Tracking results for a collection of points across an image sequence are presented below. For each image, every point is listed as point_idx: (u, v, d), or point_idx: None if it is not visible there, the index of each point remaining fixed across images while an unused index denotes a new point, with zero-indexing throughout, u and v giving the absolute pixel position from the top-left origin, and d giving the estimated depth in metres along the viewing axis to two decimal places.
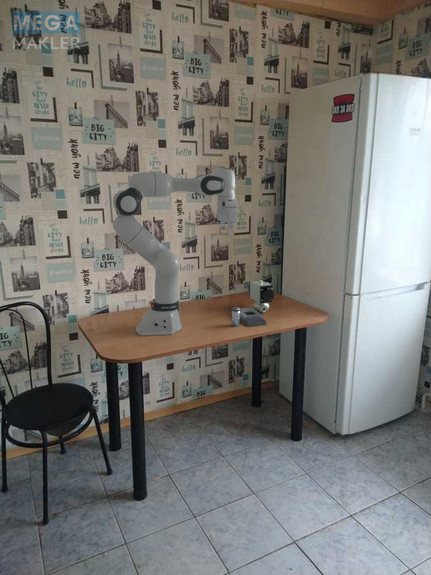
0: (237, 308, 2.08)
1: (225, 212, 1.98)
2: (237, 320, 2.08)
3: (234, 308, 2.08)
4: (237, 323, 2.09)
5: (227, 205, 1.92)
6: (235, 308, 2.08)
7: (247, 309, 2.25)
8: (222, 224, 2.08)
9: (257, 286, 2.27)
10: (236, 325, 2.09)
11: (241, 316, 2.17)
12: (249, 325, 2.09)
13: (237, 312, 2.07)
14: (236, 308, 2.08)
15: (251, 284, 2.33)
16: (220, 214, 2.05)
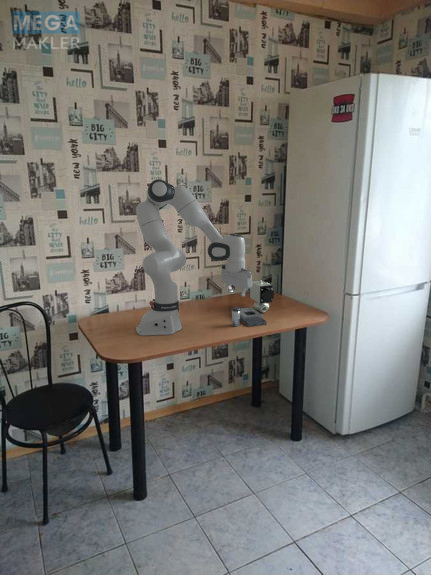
0: (237, 308, 2.08)
1: None
2: (237, 320, 2.08)
3: (234, 308, 2.08)
4: (237, 323, 2.09)
5: None
6: (235, 308, 2.08)
7: (247, 309, 2.25)
8: None
9: (257, 286, 2.27)
10: (236, 325, 2.09)
11: (241, 316, 2.17)
12: (249, 325, 2.09)
13: (237, 312, 2.07)
14: (236, 308, 2.08)
15: None
16: None
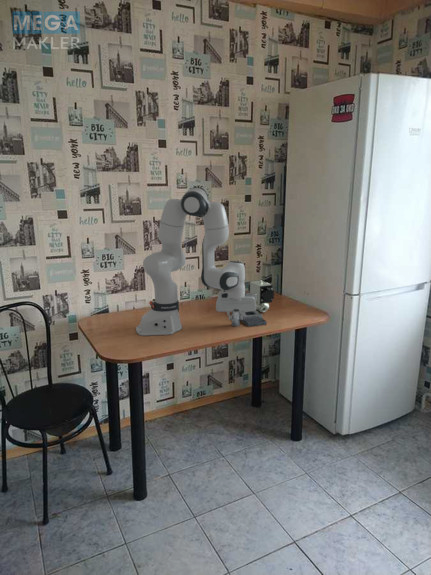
0: None
1: None
2: (237, 320, 2.08)
3: None
4: (237, 323, 2.09)
5: None
6: None
7: None
8: None
9: (257, 286, 2.27)
10: (236, 325, 2.09)
11: None
12: (249, 325, 2.09)
13: (237, 312, 2.07)
14: None
15: (251, 284, 2.33)
16: None
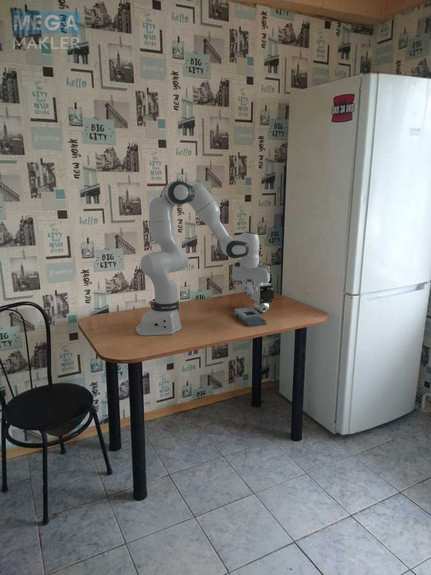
0: None
1: None
2: (250, 290, 2.13)
3: None
4: (250, 293, 2.14)
5: None
6: None
7: (247, 309, 2.25)
8: None
9: None
10: (249, 295, 2.14)
11: (241, 316, 2.17)
12: (249, 325, 2.09)
13: (250, 282, 2.12)
14: None
15: None
16: None
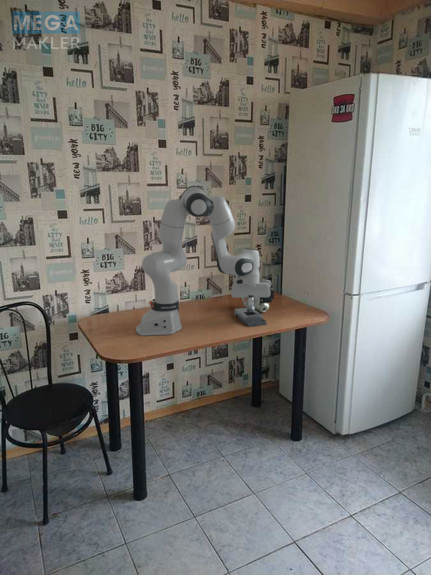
0: None
1: None
2: (252, 306, 2.15)
3: None
4: (252, 309, 2.15)
5: None
6: None
7: None
8: (257, 299, 2.16)
9: None
10: (251, 311, 2.15)
11: (241, 316, 2.17)
12: (249, 325, 2.09)
13: (252, 298, 2.14)
14: None
15: None
16: None
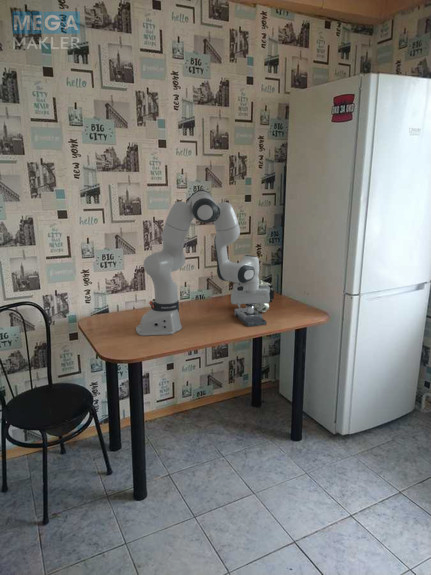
0: None
1: None
2: None
3: None
4: None
5: (233, 287, 2.16)
6: None
7: None
8: (260, 305, 2.18)
9: None
10: None
11: (241, 316, 2.17)
12: (249, 325, 2.09)
13: (252, 307, 2.15)
14: None
15: None
16: None
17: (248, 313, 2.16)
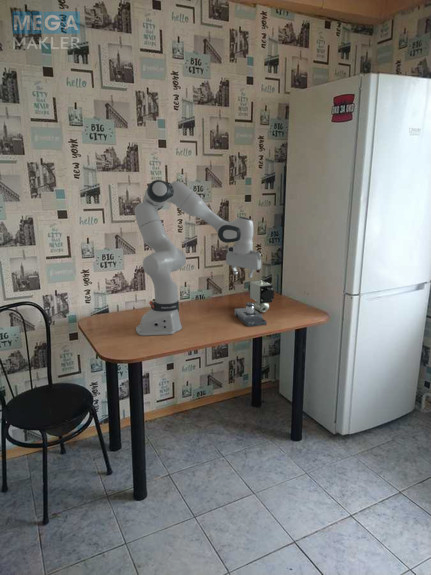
0: (251, 303, 2.17)
1: None
2: None
3: (248, 303, 2.16)
4: None
5: None
6: (249, 303, 2.17)
7: None
8: None
9: (257, 286, 2.27)
10: None
11: (241, 316, 2.17)
12: (249, 325, 2.09)
13: (252, 307, 2.15)
14: (250, 303, 2.17)
15: (251, 284, 2.33)
16: None
17: (248, 313, 2.16)
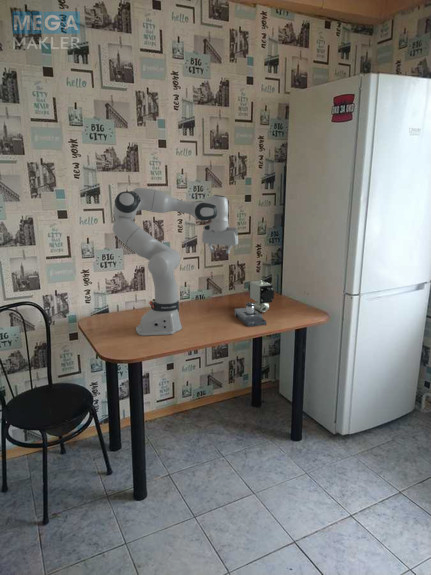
0: (251, 303, 2.17)
1: None
2: None
3: (248, 303, 2.17)
4: None
5: None
6: (249, 303, 2.17)
7: None
8: None
9: (257, 286, 2.27)
10: None
11: (241, 316, 2.17)
12: (249, 325, 2.09)
13: (252, 307, 2.15)
14: (250, 303, 2.17)
15: (251, 284, 2.33)
16: None
17: (248, 313, 2.16)
